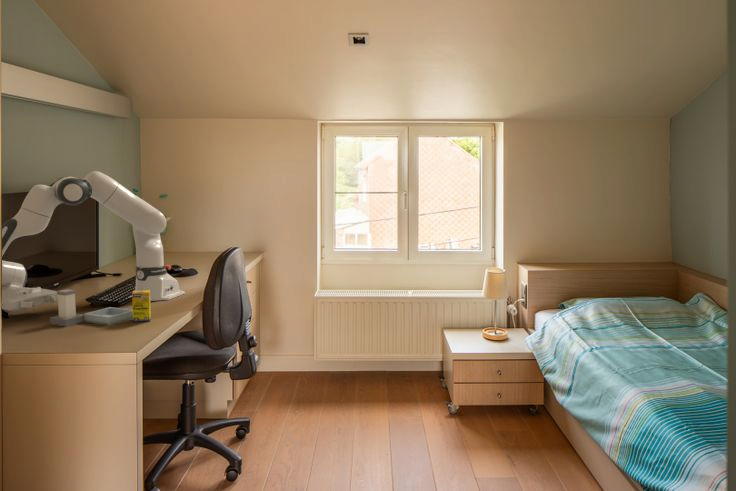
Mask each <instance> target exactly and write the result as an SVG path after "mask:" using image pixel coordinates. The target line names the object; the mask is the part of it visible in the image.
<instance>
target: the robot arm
mask: <svg viewBox="0 0 736 491" xmlns="http://www.w3.org/2000/svg"><path fill="white" fill-rule="evenodd" d="M89 198H92V199H94V200H96V201H97V202H98V203H99V204H101V205H102V206H103V207H105V208H106V209H108V210H109V211H110V212H112V213H114V215H116V216H117V217H120V218H121V219H123V220H124V221H126V222H127V223H129V224H130V225H132V233H133V238H134V244H135V257H136V258H135V259H136V266H135V275H136V278H135V288H134V290H136V291H138V290H150V302H155V301H157V302H158V301H169V300H172V299H174V298H178V297H179V296H183V295H185V294H186V292H185V291H184V290H182V289H180V284H179V281H178V280H177V279H176V278H174V277H173V276H172V275H170V274H169V273H168V271H170V270H171V269H172V265H170V264H169V265H168V264H166V265H165V264H164V245H163V243H162V238H161V233H163V232H164V231H165V229H166V227H167V223H168V222H167V218H166V216H165V215H164V214H163V213H162V211H160V210H159V209H157V208H156V207H154V206H153V205H151V204H150V203H149V202H147V201H145V200H144V199H143V198H141V197H139V196H137V195H136V194H135V193H133V192H132V191H130V190H129V189H128V188H127V187H125V186H123V185H122V184H121V183H119V182H118V181H117V180H115V179H114V178H112V177H110V176H109V175H107V174H105V173H103V172H101V171H97V170H93V171H91V172H89V173H87V175H85V177H83V178H78V177H74V176H63V177H60V178H58V179H57V180H55V182H52V183H51V184H50V185H46V184H35V185H33V186H32V188H30V190H29V191H28V193H27V195H26V196H25V198H24V200H23V202H22V204H21V206H20V208H19V211H18V212H17V213H16V214H15V215H14V216H13V217H12V218H11V219H8V220H6V221H5V222H4V223H3V224H2V225H1V227H2V257H3V255H4V254H5V252H6V250H7V249H8V247H9V246H10V245H11V243H13V241H14V240H15V239H17V238H21V237H25V236H34V235H38V234H40V233H41V232H44V231H45V229H46V228H47V227H48V226H49V224H50V221H51V218H52V216H53V213H54V211H55V209H56V207H58V206H59V205H61V204H64V205H67V206H77V205H80V204H81V203H83V202H84V201H86V200H87V199H89ZM1 260H2V259H1ZM167 270H168V271H167ZM27 279H28V271H27V269H26V267H25V266H24V264H21V263H19V262H15V261H8V260H7V261H6V260H4V259H3V260H2V309H1V310H4V311H9V312H10V311H12V312H13V311H18V312H19V311H20V312H21V311H22V312H23V311H25V310H27V309H29V308H34V307H35V306H38V305H44V304H49V303H56V302H57V303H58V295H57V291H56V290H51V289H47V288H41V286H33V287H31V286H30V287H29V286H28V287H25V286H26V283H27V281H28V280H27Z"/></svg>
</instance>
